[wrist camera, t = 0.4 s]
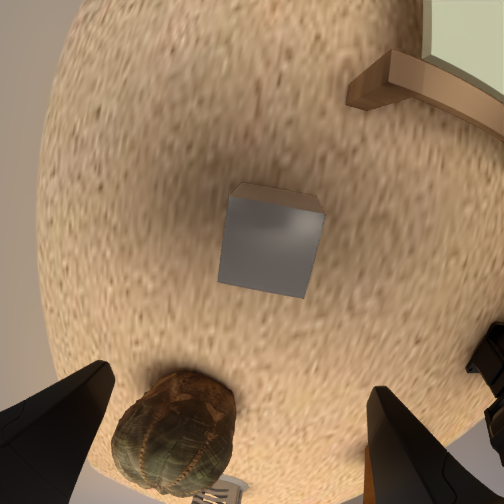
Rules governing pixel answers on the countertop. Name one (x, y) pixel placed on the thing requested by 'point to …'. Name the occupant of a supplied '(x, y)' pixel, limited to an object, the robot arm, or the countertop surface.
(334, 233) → the countertop surface
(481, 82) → the trapdoor
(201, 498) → the french press
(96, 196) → the countertop surface
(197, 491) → the shell
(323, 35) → the countertop surface
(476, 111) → the frame
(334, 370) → the countertop surface
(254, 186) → the gray cube
